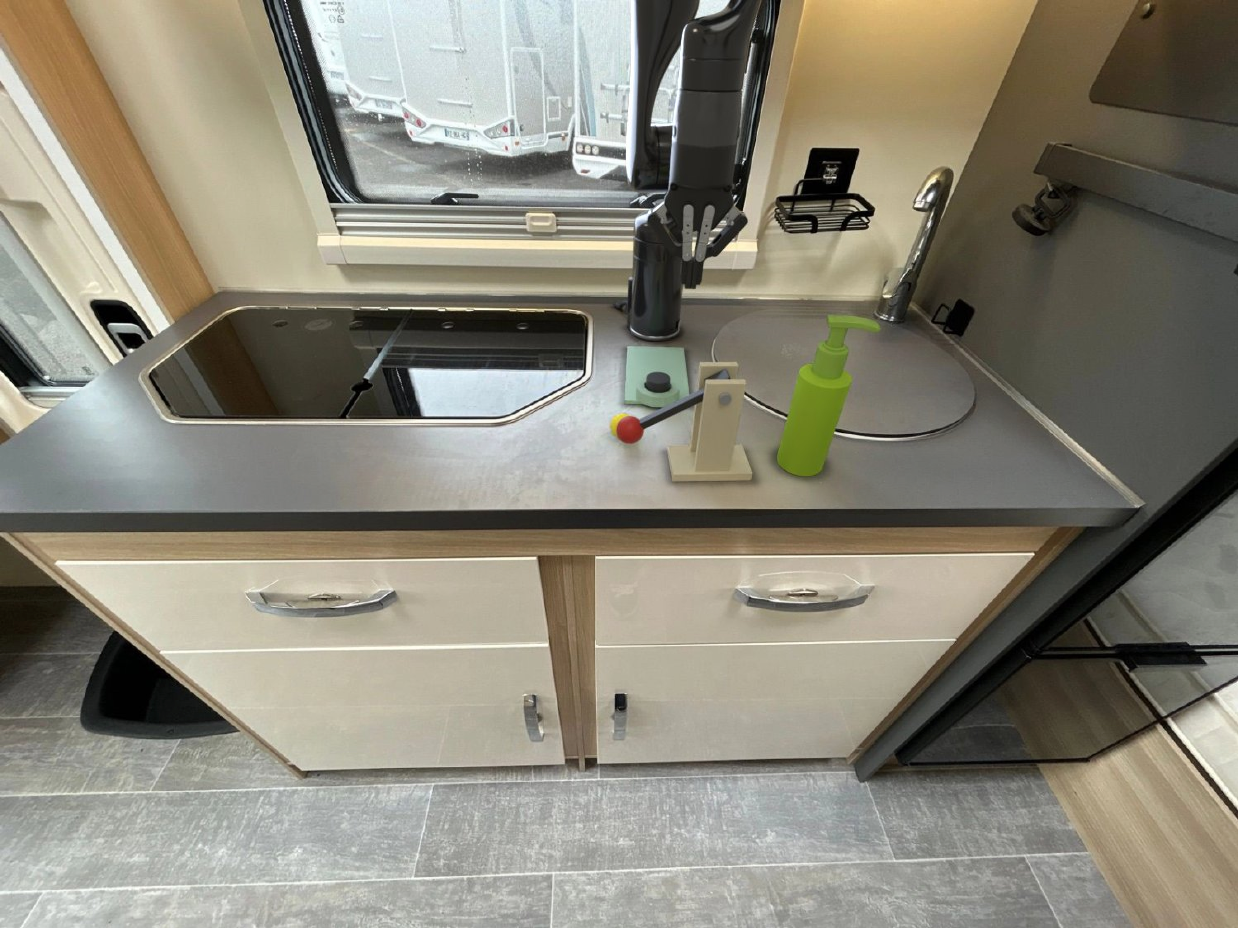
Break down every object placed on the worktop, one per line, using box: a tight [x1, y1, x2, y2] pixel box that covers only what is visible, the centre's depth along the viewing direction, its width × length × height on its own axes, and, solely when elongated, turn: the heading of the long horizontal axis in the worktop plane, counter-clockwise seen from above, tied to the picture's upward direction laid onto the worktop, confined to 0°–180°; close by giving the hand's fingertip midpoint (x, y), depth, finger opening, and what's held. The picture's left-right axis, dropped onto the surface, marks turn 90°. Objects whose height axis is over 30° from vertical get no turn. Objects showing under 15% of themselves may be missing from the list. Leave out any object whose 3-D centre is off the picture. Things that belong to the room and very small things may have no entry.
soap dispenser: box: [776, 314, 882, 477], centre depth 63 cm, size 6×7×20 cm
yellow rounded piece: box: [609, 412, 630, 439], centre depth 73 cm, size 3×6×4 cm, turn 175°
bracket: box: [666, 361, 753, 483], centre depth 64 cm, size 10×6×14 cm, turn 92°
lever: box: [616, 369, 731, 445], centre depth 62 cm, size 15×3×3 cm
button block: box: [623, 345, 690, 408], centre depth 85 cm, size 20×10×2 cm, turn 178°
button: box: [646, 372, 671, 393], centre depth 79 cm, size 4×4×2 cm
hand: (689, 286), depth 71 cm, fingers closed
